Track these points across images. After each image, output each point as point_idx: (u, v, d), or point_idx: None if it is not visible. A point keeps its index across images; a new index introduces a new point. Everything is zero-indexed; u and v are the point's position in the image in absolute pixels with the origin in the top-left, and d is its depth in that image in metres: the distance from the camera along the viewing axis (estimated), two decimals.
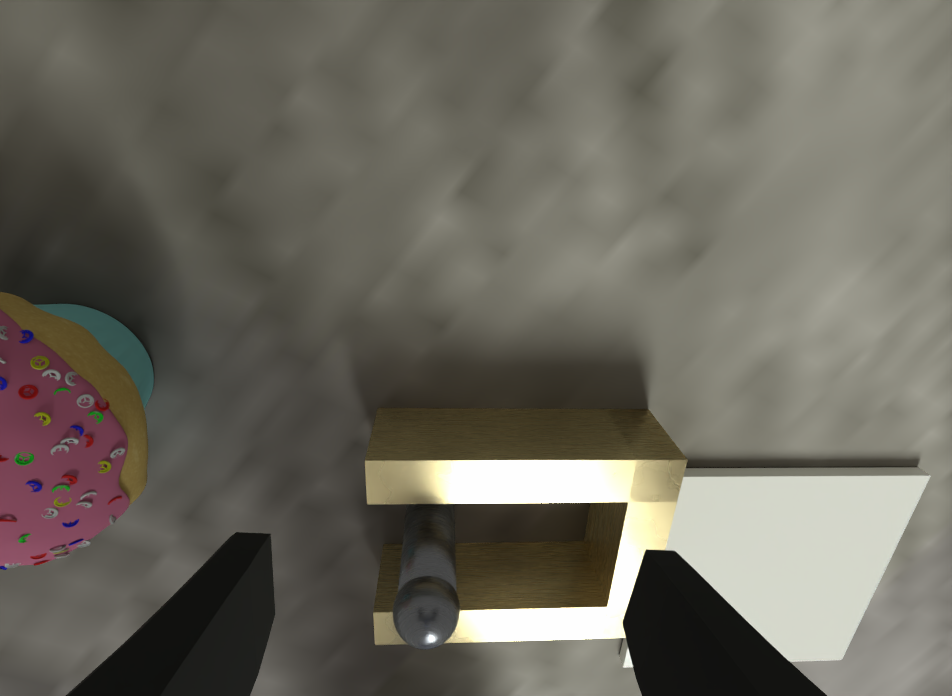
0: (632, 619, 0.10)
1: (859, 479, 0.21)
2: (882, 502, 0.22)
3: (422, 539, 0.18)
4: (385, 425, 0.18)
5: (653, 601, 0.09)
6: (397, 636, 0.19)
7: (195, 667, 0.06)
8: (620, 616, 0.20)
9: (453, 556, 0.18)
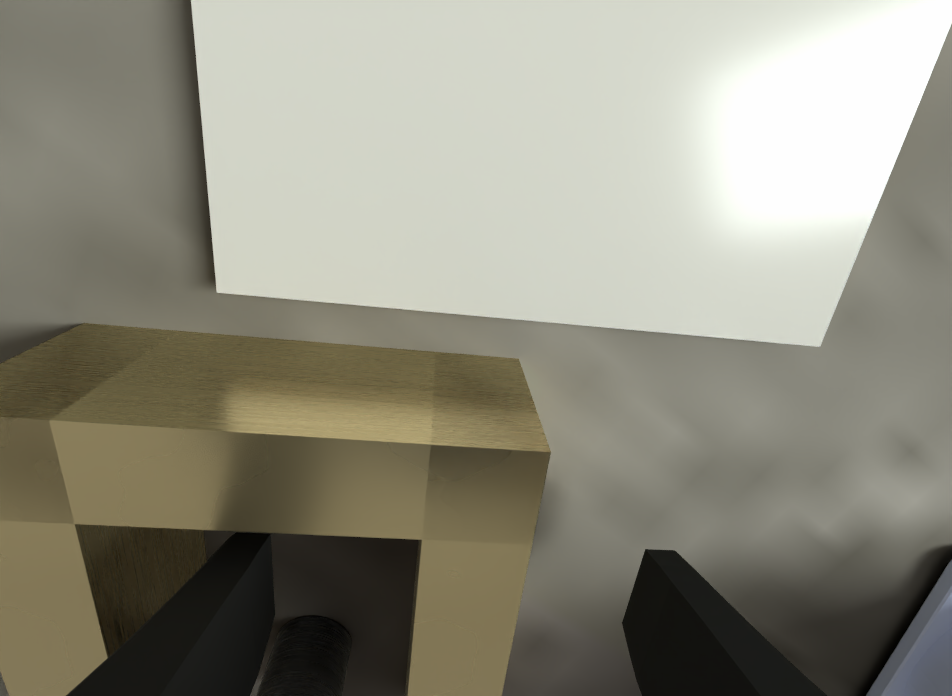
0: (632, 619, 0.10)
1: None
2: None
3: None
4: None
5: (653, 601, 0.09)
6: None
7: (195, 667, 0.06)
8: (460, 510, 0.08)
9: None
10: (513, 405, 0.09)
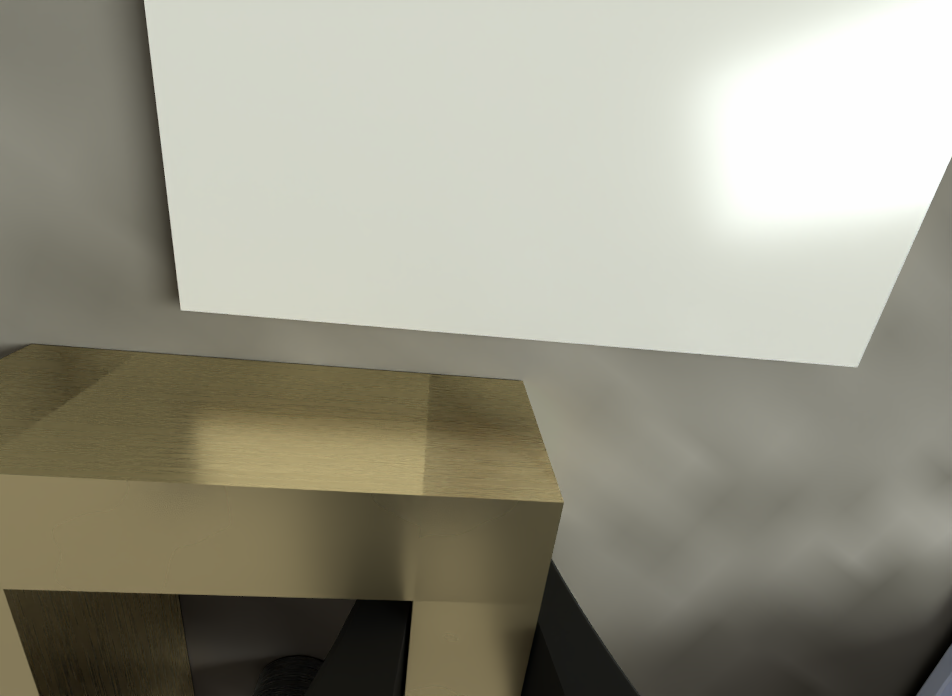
0: None
1: None
2: None
3: None
4: None
5: None
6: None
7: (399, 670, 0.07)
8: (457, 567, 0.07)
9: None
10: (518, 440, 0.07)
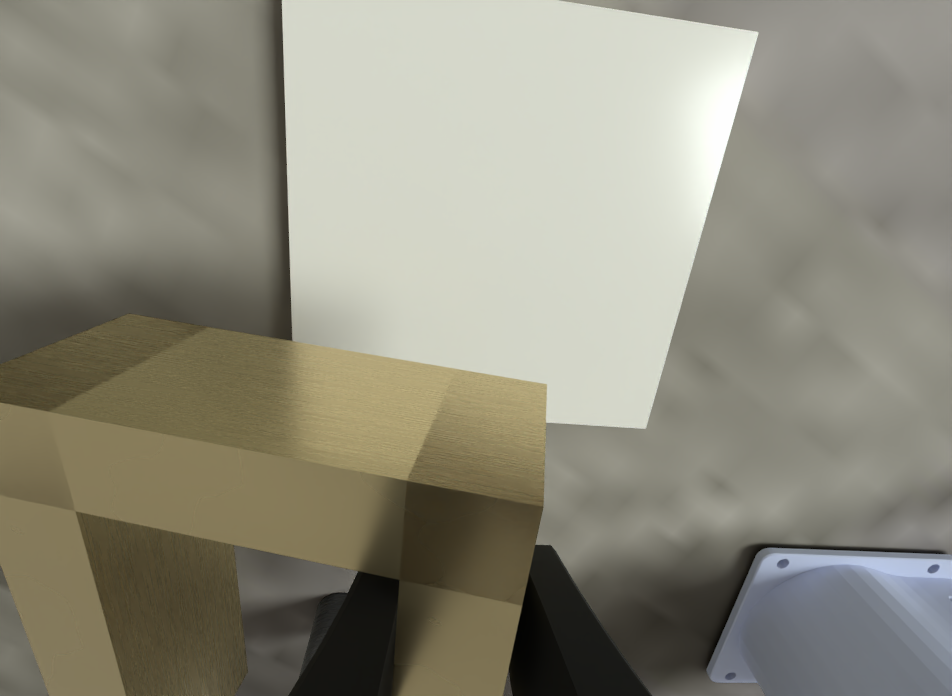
0: None
1: (293, 111, 0.13)
2: (343, 49, 0.12)
3: None
4: None
5: None
6: None
7: (386, 670, 0.07)
8: (440, 555, 0.07)
9: None
10: (520, 441, 0.08)
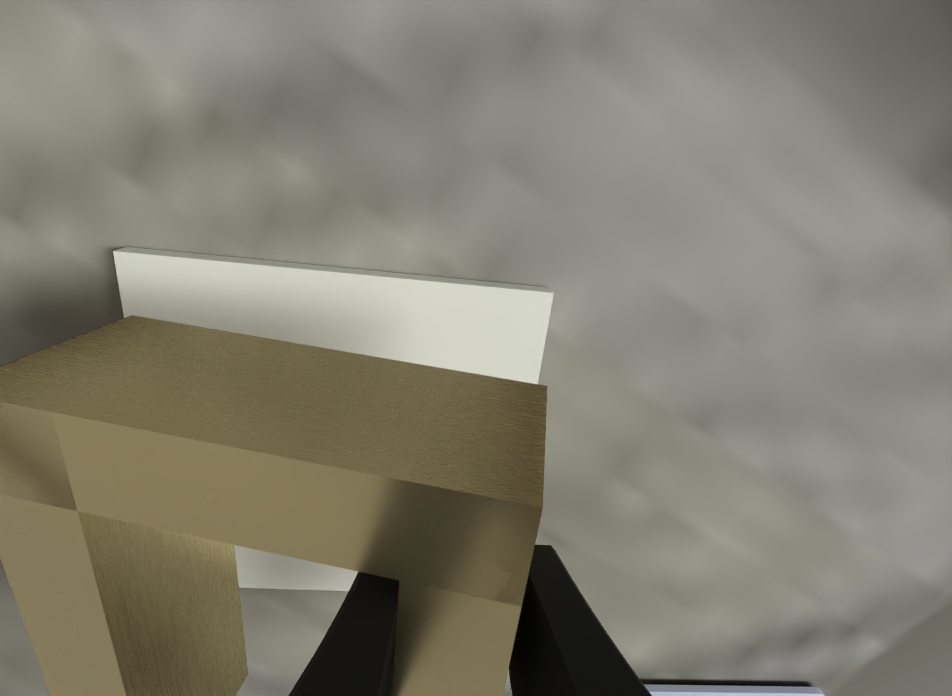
0: None
1: None
2: (178, 316, 0.14)
3: None
4: None
5: None
6: None
7: (386, 669, 0.07)
8: (439, 555, 0.07)
9: None
10: (519, 442, 0.08)
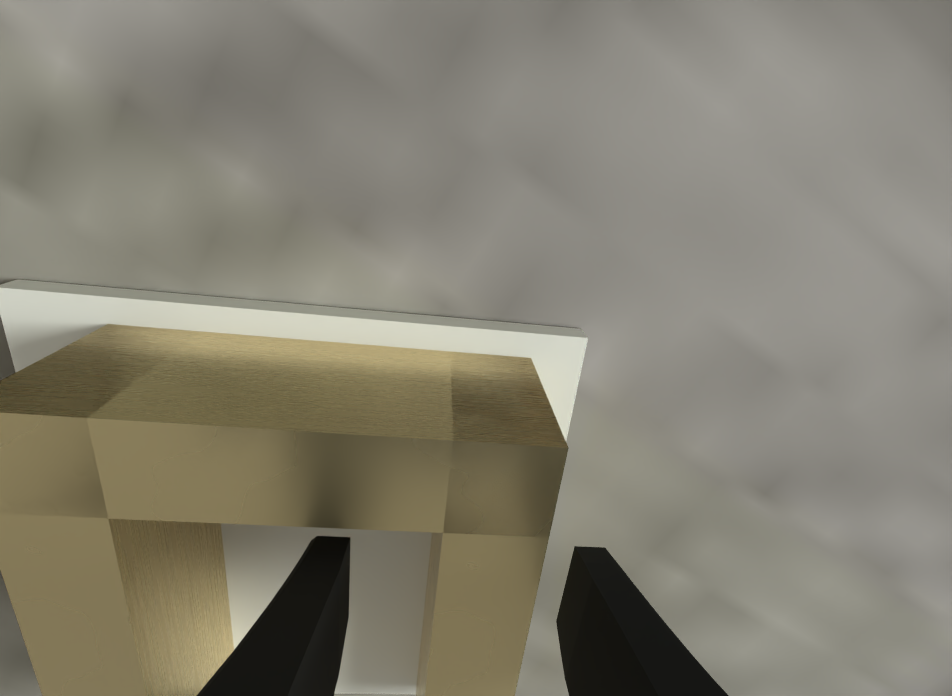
0: (563, 617, 0.10)
1: None
2: None
3: None
4: None
5: (579, 599, 0.09)
6: None
7: (307, 668, 0.06)
8: (480, 504, 0.08)
9: None
10: (529, 403, 0.09)
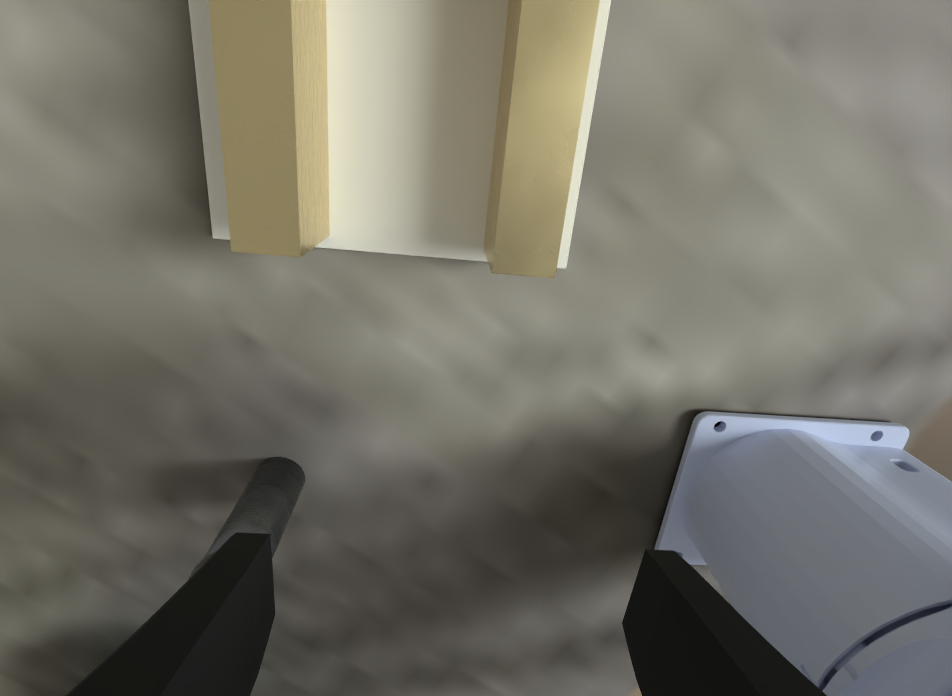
0: (632, 619, 0.10)
1: None
2: None
3: None
4: None
5: (653, 601, 0.09)
6: (543, 245, 0.13)
7: (195, 667, 0.06)
8: None
9: (233, 520, 0.17)
10: None
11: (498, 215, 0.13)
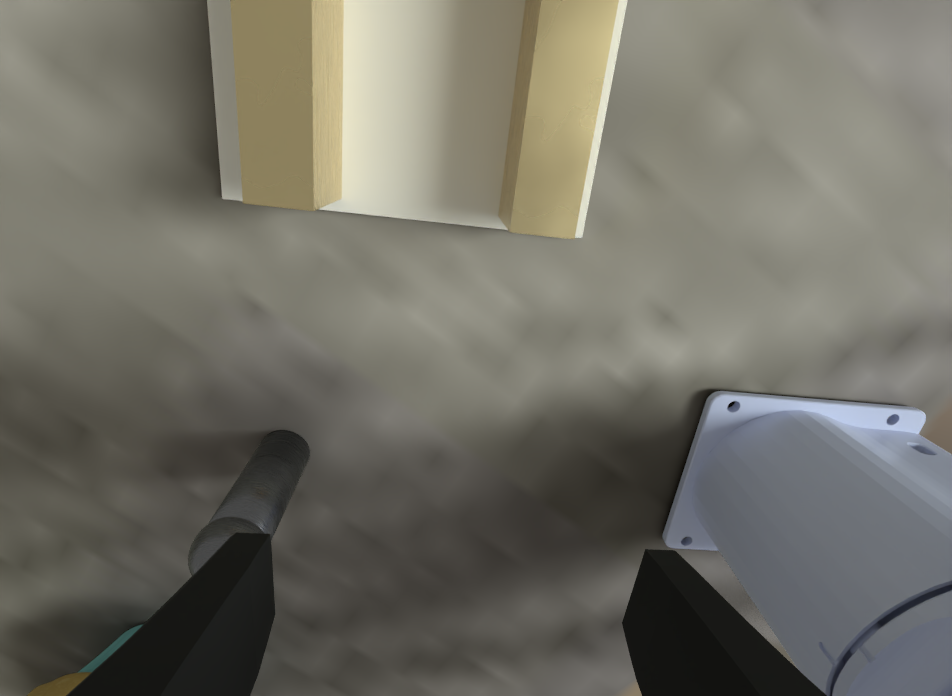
0: (632, 619, 0.10)
1: None
2: None
3: None
4: None
5: (653, 601, 0.09)
6: (563, 203, 0.13)
7: (195, 667, 0.06)
8: None
9: (237, 489, 0.16)
10: None
11: (518, 171, 0.13)
